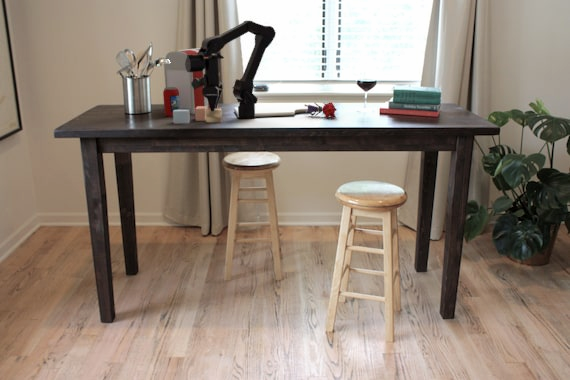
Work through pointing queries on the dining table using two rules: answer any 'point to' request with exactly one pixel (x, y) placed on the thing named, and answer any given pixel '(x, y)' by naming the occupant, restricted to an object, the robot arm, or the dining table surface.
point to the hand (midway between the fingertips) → (214, 109)
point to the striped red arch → (184, 80)
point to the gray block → (181, 116)
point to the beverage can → (171, 100)
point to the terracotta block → (200, 113)
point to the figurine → (327, 109)
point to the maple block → (214, 115)
